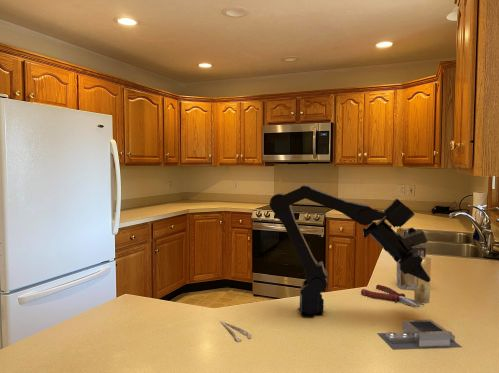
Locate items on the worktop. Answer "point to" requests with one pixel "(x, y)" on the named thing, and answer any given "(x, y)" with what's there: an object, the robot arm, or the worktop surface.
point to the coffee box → (407, 279)
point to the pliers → (390, 296)
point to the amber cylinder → (423, 283)
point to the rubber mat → (411, 344)
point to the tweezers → (236, 330)
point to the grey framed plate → (422, 334)
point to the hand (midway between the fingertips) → (427, 278)
